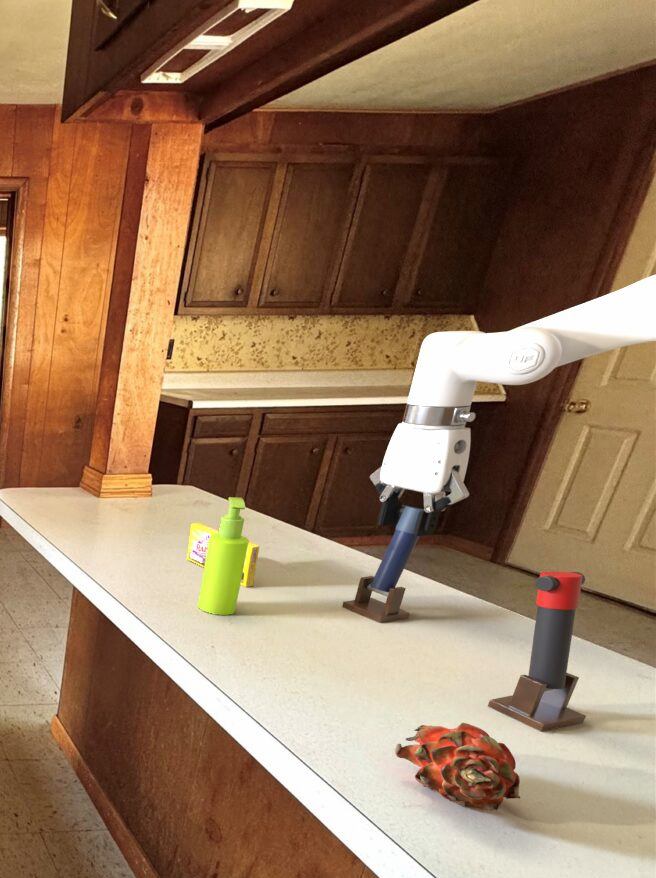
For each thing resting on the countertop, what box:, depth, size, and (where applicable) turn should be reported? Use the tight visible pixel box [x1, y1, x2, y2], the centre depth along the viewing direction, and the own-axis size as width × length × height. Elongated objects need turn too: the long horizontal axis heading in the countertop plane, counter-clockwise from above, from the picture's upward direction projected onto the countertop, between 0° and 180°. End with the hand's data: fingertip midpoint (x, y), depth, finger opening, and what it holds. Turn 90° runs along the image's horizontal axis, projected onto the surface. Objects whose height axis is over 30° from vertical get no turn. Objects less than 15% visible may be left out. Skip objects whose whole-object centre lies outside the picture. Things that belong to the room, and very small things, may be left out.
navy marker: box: [367, 504, 424, 598], centre depth 109 cm, size 15×5×4 cm
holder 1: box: [341, 575, 411, 624], centre depth 112 cm, size 6×7×6 cm
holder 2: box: [487, 672, 587, 732], centre depth 83 cm, size 6×7×6 cm
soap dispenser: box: [197, 496, 250, 616], centre depth 113 cm, size 6×7×20 cm
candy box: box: [186, 522, 261, 588], centre depth 131 cm, size 16×2×8 cm, turn 14°
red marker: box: [527, 570, 586, 691], centre depth 81 cm, size 15×5×4 cm
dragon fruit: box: [394, 722, 521, 811], centre depth 70 cm, size 8×8×12 cm
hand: (404, 528), depth 108 cm, fingers closed on navy marker, 5 cm apart
